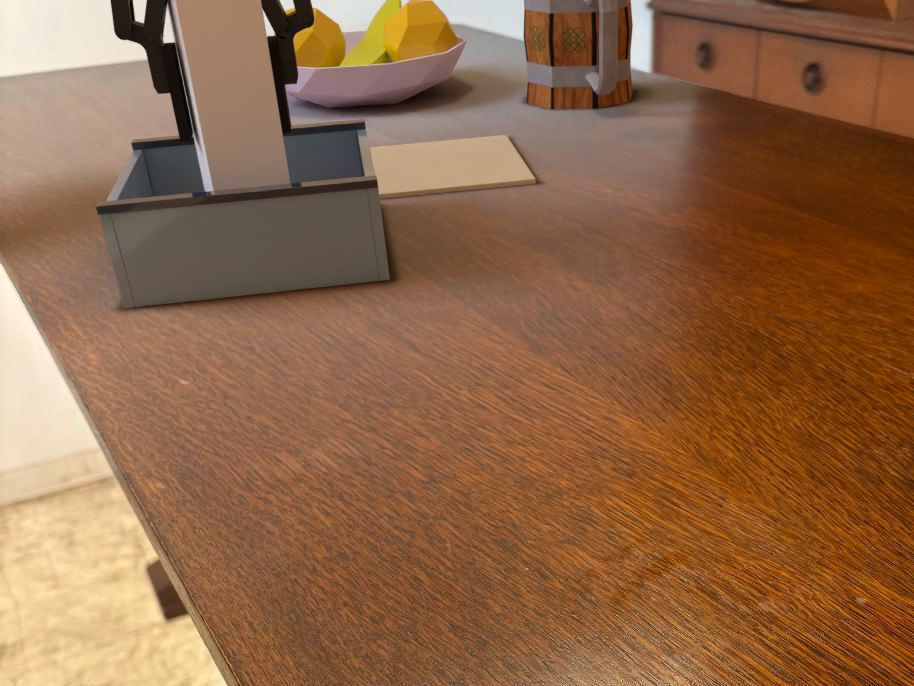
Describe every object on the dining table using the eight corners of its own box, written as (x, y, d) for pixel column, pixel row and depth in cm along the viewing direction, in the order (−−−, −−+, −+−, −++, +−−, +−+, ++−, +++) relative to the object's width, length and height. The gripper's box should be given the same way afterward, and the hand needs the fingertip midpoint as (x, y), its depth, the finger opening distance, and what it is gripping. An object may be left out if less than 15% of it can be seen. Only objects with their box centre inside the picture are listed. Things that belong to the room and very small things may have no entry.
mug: (514, 92, 137) (506, -42, 128) (616, 82, 139) (615, -51, 131) (553, 126, 121) (547, -24, 113) (668, 114, 123) (671, -34, 115)
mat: (322, 205, 100) (321, 199, 99) (319, 156, 115) (318, 151, 114) (535, 184, 102) (535, 178, 102) (506, 139, 117) (506, 134, 117)
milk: (298, 227, 87) (248, -91, 74) (221, 239, 85) (157, -85, 72) (281, 207, 91) (232, -96, 79) (208, 218, 89) (146, -91, 77)
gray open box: (123, 310, 80) (95, 206, 76) (154, 228, 96) (132, 139, 92) (390, 281, 82) (377, 179, 78) (375, 206, 99) (364, 118, 94)
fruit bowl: (386, 128, 124) (373, 19, 118) (217, 110, 137) (197, 11, 130) (517, 79, 144) (512, -16, 137) (359, 67, 156) (347, -21, 150)
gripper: (-1, -227, 67) (97, 156, 80) (323, -238, 69) (367, 134, 82) (24, -223, 73) (111, 131, 86) (321, -234, 76) (362, 112, 88)
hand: (236, 132), depth 84 cm, fingers closed on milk, 7 cm apart
